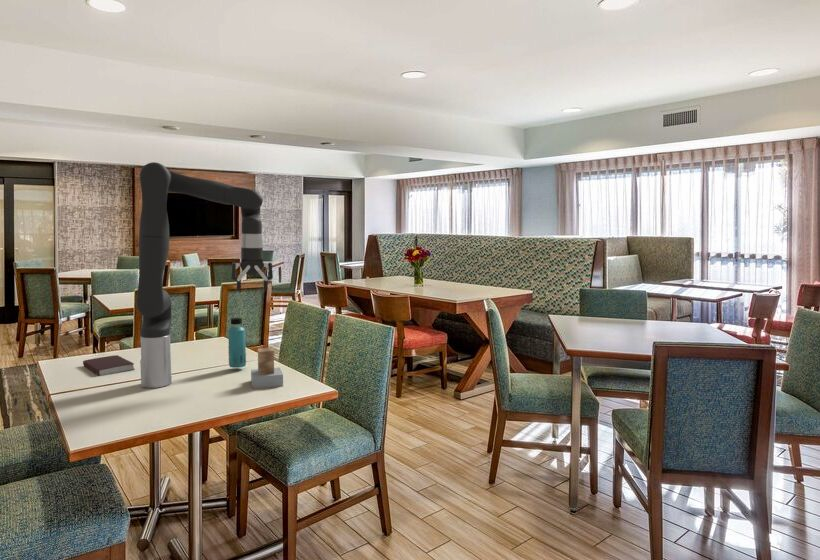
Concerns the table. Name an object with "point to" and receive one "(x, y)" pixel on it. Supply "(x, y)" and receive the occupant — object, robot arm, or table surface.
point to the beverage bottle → (236, 344)
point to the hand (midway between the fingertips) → (252, 291)
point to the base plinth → (266, 379)
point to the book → (108, 365)
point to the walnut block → (266, 361)
